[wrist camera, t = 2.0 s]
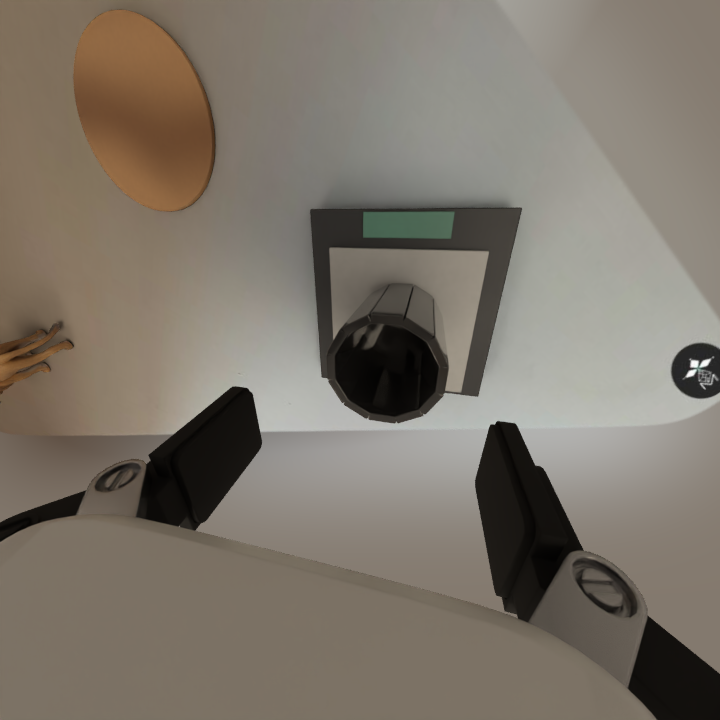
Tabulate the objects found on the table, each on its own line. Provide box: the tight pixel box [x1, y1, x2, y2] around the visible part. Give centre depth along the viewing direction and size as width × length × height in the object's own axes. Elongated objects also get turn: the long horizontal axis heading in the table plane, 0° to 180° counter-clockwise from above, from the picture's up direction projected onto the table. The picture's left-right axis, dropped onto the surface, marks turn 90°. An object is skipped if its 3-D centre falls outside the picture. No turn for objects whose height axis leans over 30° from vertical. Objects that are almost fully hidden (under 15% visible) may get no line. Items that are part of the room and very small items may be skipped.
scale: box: [310, 208, 522, 396], centre depth 22 cm, size 14×14×2 cm
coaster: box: [74, 10, 215, 212], centre depth 21 cm, size 12×12×1 cm
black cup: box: [326, 283, 449, 423], centre depth 18 cm, size 6×6×8 cm
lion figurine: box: [0, 323, 73, 403], centre depth 33 cm, size 15×5×9 cm, turn 130°
